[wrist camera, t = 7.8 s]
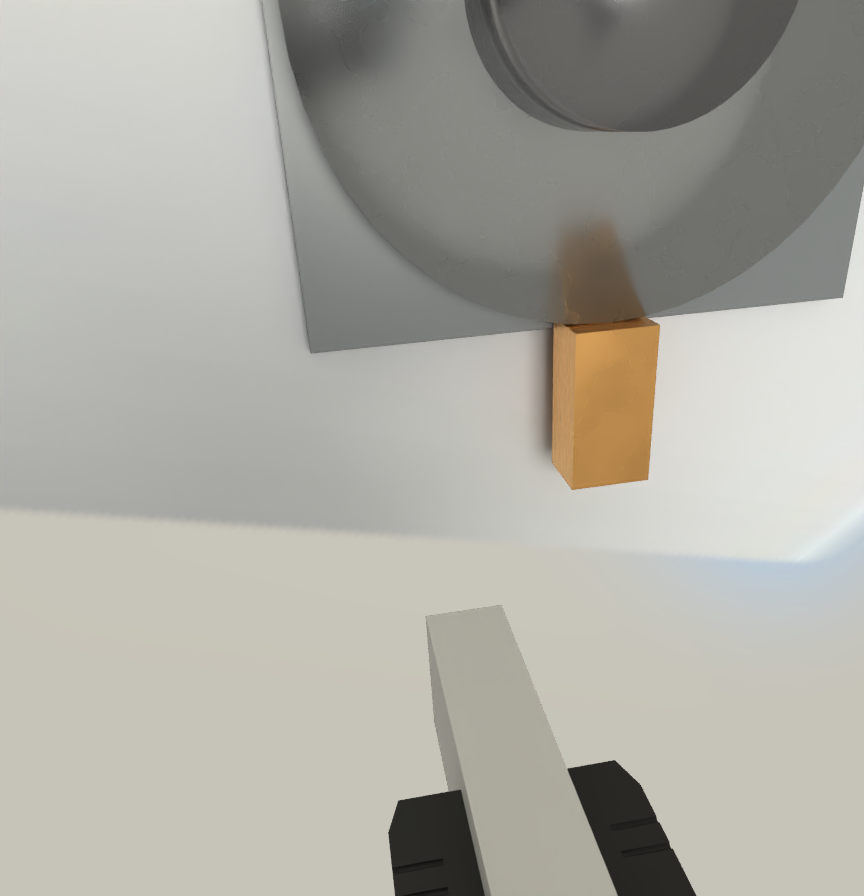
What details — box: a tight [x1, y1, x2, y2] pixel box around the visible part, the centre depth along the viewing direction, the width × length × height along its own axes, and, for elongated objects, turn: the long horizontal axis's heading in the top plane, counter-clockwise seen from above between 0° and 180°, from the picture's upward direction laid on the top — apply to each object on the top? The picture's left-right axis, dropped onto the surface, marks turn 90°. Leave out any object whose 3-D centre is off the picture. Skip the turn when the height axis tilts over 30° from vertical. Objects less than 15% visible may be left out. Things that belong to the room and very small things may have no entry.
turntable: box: [278, 0, 864, 490], centre depth 22 cm, size 20×26×2 cm
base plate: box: [262, 0, 864, 353], centre depth 23 cm, size 21×21×1 cm
